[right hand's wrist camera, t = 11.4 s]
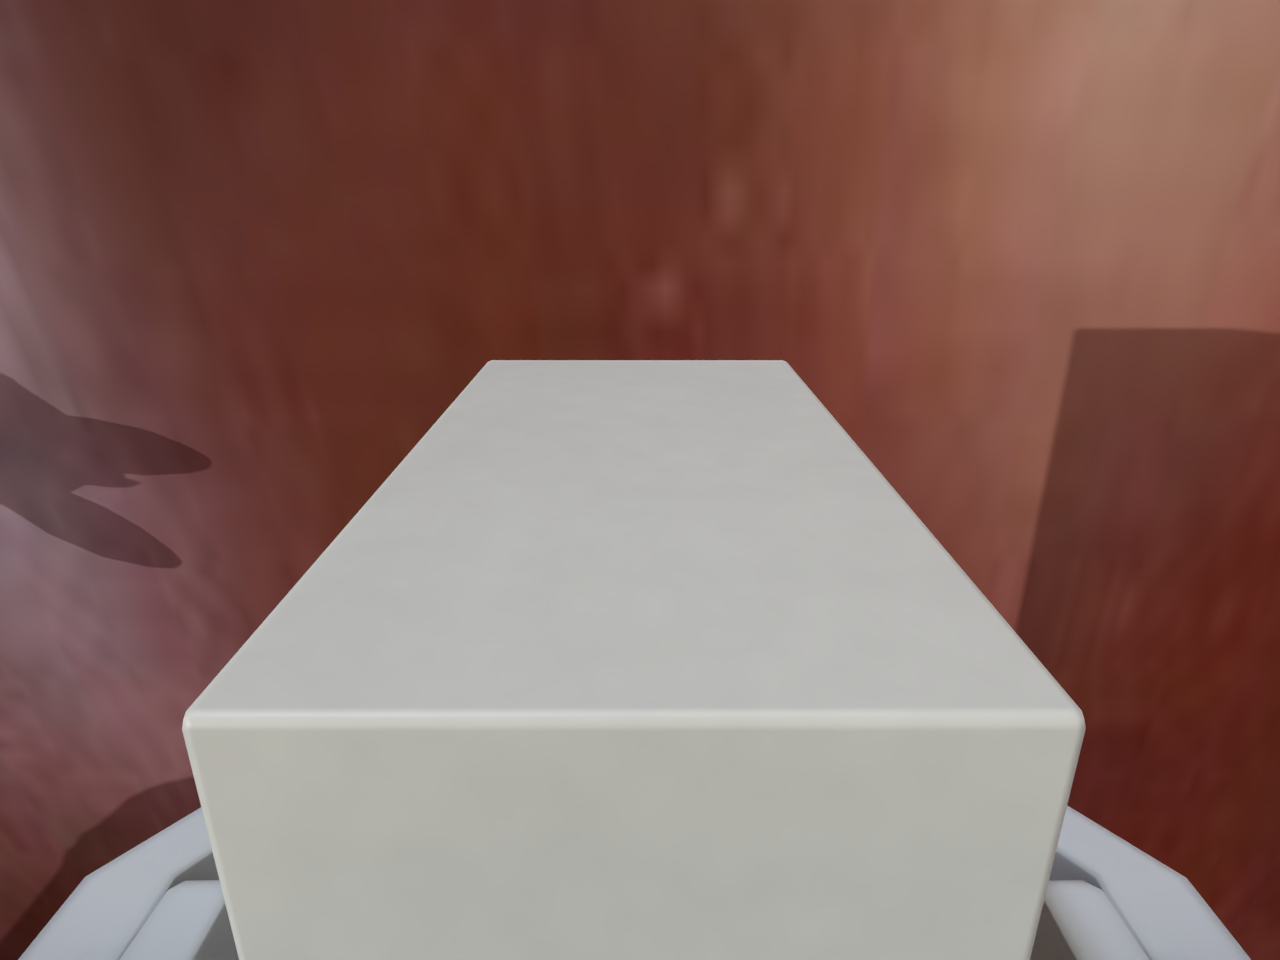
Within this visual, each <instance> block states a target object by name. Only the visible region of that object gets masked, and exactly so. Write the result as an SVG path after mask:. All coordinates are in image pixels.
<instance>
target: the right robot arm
mask: <svg viewBox="0 0 1280 960" xmlns="http://www.w3.org/2000/svg"><path fill="white" fill-rule="evenodd" d="M18 960H239V957H238V953H237V949H236V945H235V941H234V937H233V933H232V929H231V925H230V921H229V917H228V913H227V908H226V904H225V900H224V896H223V892H222V888H221V884H220V880H219V876H218V872H217V868H216V864H215V860H214V856H213V852H212V848H211V844H210V840H209V836H208V832H207V828H206V824H205V820H204V816H203V812H202V807H201V808H199V809H197V810H196V811H194V812H192V813H191V814H189V815H187V816H186V817H184V818H182V819H181V820H179V821H177V822H176V823H174V824H172V825H171V826H169V827H167V828H166V829H164V830H162V831H161V832H159V833H157V834H156V835H154V836H152V837H151V838H149V839H147V840H146V841H144V842H142V843H141V844H139V845H137V846H136V847H134V848H132V849H131V850H129V851H127V852H126V853H124V854H122V855H121V856H119V857H117V858H116V859H114V860H112V861H111V862H109V863H107V864H106V865H104V866H102V867H101V868H99V869H97V870H96V871H94V872H92V873H91V874H89V875H87V876H86V877H85V878H84V879H83V880H82V881H81V883H80V884H79V885H78V886H77V887H76V889H75V890H74V891H73V892H72V894H71V895H70V896H69V897H68V899H67V900H66V901H65V902H64V904H63V905H62V906H61V907H60V908H59V910H58V911H57V912H56V913H55V915H54V916H53V917H52V918H51V920H50V921H49V922H48V923H47V925H46V926H45V927H44V928H43V929H42V931H41V932H40V933H39V934H38V936H37V937H36V938H35V939H34V941H33V942H32V943H31V944H30V946H29V947H28V948H27V949H26V950H25V952H24V953H23V954H22V955H21V957H20V958H19V959H18ZM1030 960H1251V959H1250V958H1249V956H1248V955H1247V954H1246V953H1245V951H1244V950H1243V949H1242V947H1241V946H1240V945H1239V944H1238V942H1237V941H1236V940H1235V939H1234V937H1233V936H1232V935H1231V934H1230V932H1229V931H1228V930H1227V928H1226V927H1225V926H1224V925H1223V923H1222V922H1221V921H1220V920H1219V918H1218V917H1217V916H1216V915H1215V913H1214V912H1213V911H1212V909H1211V908H1210V907H1209V906H1208V904H1207V903H1206V902H1205V901H1204V899H1203V898H1202V897H1201V896H1200V894H1199V893H1198V892H1197V890H1196V889H1195V888H1194V887H1193V885H1192V884H1191V883H1190V882H1189V880H1188V879H1187V878H1186V877H1184V876H1182V875H1181V874H1179V873H1178V872H1176V871H1174V870H1173V869H1171V868H1169V867H1168V866H1166V865H1164V864H1163V863H1161V862H1159V861H1158V860H1156V859H1154V858H1153V857H1151V856H1150V855H1148V854H1146V853H1145V852H1143V851H1141V850H1140V849H1138V848H1136V847H1135V846H1133V845H1131V844H1130V843H1128V842H1127V841H1125V840H1123V839H1122V838H1120V837H1118V836H1117V835H1115V834H1113V833H1112V832H1110V831H1108V830H1107V829H1105V828H1103V827H1102V826H1100V825H1099V824H1097V823H1095V822H1094V821H1092V820H1090V819H1089V818H1087V817H1085V816H1084V815H1082V814H1080V813H1079V812H1077V811H1076V810H1074V809H1072V808H1071V807H1069V806H1067V808H1066V812H1065V816H1064V820H1063V825H1062V829H1061V833H1060V837H1059V841H1058V845H1057V849H1056V854H1055V858H1054V862H1053V866H1052V870H1051V874H1050V878H1049V883H1048V887H1047V891H1046V895H1045V899H1044V903H1043V907H1042V911H1041V916H1040V920H1039V924H1038V928H1037V932H1036V936H1035V940H1034V945H1033V949H1032V953H1031V957H1030Z"/></svg>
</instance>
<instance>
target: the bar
mask: <svg viewBox="0 0 1280 960" xmlns="http://www.w3.org/2000/svg"><path fill="white" fill-rule="evenodd" d="M1085 729H1086V727H1085V720H1084V716H1083V713H1082V710H1081V709H1080V708H1079V707H1078V706H1077V705H1076V703H1075V702H1074V701H1073V700H1072V699H1071V697H1070V696H1069V695H1068V694H1067V693H1066V692H1065V690H1064V689H1063V688H1062V687H1061V686H1060V684H1059V683H1058V682H1057V681H1056V680H1055V679H1054V677H1053V676H1052V675H1051V674H1050V673H1049V671H1048V670H1047V669H1046V668H1045V667H1044V666H1043V664H1042V663H1041V662H1040V661H1039V660H1038V658H1037V657H1036V656H1035V655H1034V654H1033V653H1032V651H1031V650H1030V649H1029V648H1028V647H1027V645H1026V644H1025V643H1024V642H1023V641H1022V640H1021V638H1020V637H1019V636H1018V635H1017V634H1016V632H1015V631H1014V630H1013V629H1012V628H1011V627H1010V625H1009V624H1008V623H1007V622H1006V621H1005V619H1004V618H1003V617H1002V616H1001V615H1000V614H999V612H998V611H997V610H996V609H995V608H994V606H993V605H992V604H991V603H990V602H989V600H988V599H987V598H986V597H985V596H984V595H983V593H982V592H981V591H980V590H979V589H978V587H977V586H976V585H975V584H974V583H973V582H972V580H971V579H970V578H969V577H968V576H967V574H966V573H965V572H964V571H963V570H962V569H961V567H960V566H959V565H958V564H957V563H956V561H955V560H954V559H953V558H952V557H951V556H950V554H949V553H948V552H947V551H946V550H945V548H944V547H943V546H942V545H941V544H940V543H939V541H938V540H937V539H936V538H935V537H934V535H933V534H932V533H931V532H930V531H929V530H928V528H927V527H926V526H925V525H924V524H923V522H922V521H921V520H920V519H919V518H918V517H917V515H916V514H915V513H914V512H913V511H912V509H911V508H910V507H909V506H908V505H907V504H906V502H905V501H904V500H903V499H902V498H901V496H900V495H899V494H898V493H897V492H896V491H895V489H894V488H893V487H892V486H891V485H890V483H889V482H888V481H887V480H886V479H885V478H884V476H883V475H882V474H881V473H880V472H879V470H878V469H877V468H876V467H875V466H874V465H873V463H872V462H871V461H870V460H869V459H868V457H867V456H866V455H865V454H864V453H863V452H862V450H861V449H860V448H859V447H858V446H857V444H856V443H855V442H854V441H853V440H852V439H851V437H850V436H849V435H848V434H847V433H846V431H845V430H844V429H843V428H842V427H841V426H840V424H839V423H838V422H837V421H836V420H835V418H834V417H833V416H832V415H831V414H830V413H829V411H828V410H827V409H826V408H825V407H824V405H823V404H822V403H821V402H820V401H819V400H818V398H817V397H816V396H815V395H814V394H813V392H812V391H811V390H810V389H809V388H808V387H807V385H806V384H805V383H804V382H803V381H802V379H801V378H800V377H799V376H798V375H797V374H796V372H795V371H794V370H793V369H792V368H791V366H790V365H789V364H788V363H787V362H786V361H783V360H491V361H489V362H487V364H486V365H485V366H484V367H483V368H482V369H481V371H480V372H479V373H478V374H477V375H476V376H475V377H474V379H473V380H472V381H471V382H470V383H469V384H468V386H467V387H466V388H465V389H464V390H463V391H462V392H461V394H460V395H459V396H458V397H457V398H456V399H455V401H454V402H453V403H452V404H451V405H450V406H449V408H448V409H447V410H446V411H445V412H444V413H443V414H442V416H441V417H440V418H439V419H438V420H437V421H436V423H435V424H434V425H433V426H432V427H431V428H430V430H429V431H428V432H427V433H426V434H425V435H424V436H423V438H422V439H421V440H420V441H419V442H418V443H417V445H416V446H415V447H414V448H413V449H412V450H411V452H410V453H409V454H408V455H407V456H406V457H405V458H404V460H403V461H402V462H401V463H400V464H399V465H398V467H397V468H396V469H395V470H394V471H393V472H392V474H391V475H390V476H389V477H388V478H387V479H386V480H385V482H384V483H383V484H382V485H381V486H380V487H379V489H378V490H377V491H376V492H375V493H374V494H373V496H372V497H371V498H370V499H369V500H368V501H367V502H366V504H365V505H364V506H363V507H362V508H361V509H360V511H359V512H358V513H357V514H356V515H355V516H354V518H353V519H352V520H351V521H350V522H349V523H348V524H347V526H346V527H345V528H344V529H343V530H342V531H341V533H340V534H339V535H338V536H337V537H336V538H335V540H334V541H333V542H332V543H331V544H330V545H329V546H328V548H327V549H326V550H325V551H324V552H323V553H322V555H321V556H320V557H319V558H318V559H317V560H316V562H315V563H314V564H313V565H312V566H311V567H310V568H309V570H308V571H307V572H306V573H305V574H304V575H303V577H302V578H301V579H300V580H299V581H298V582H297V583H296V585H295V586H294V587H293V588H292V589H291V590H290V592H289V593H288V594H287V595H286V596H285V597H284V599H283V600H282V601H281V602H280V603H279V604H278V605H277V607H276V608H275V609H274V610H273V611H272V612H271V614H270V615H269V616H268V617H267V618H266V619H265V621H264V622H263V623H262V624H261V625H260V626H259V627H258V629H257V630H256V631H255V632H254V633H253V634H252V636H251V637H250V638H249V639H248V640H247V641H246V643H245V644H244V645H243V646H242V647H241V648H240V649H239V651H238V652H237V653H236V654H235V655H234V656H233V658H232V659H231V660H230V661H229V662H228V663H227V665H226V666H225V667H224V668H223V669H222V670H221V671H220V673H219V674H218V675H217V676H216V677H215V678H214V680H213V681H212V682H211V683H210V684H209V685H208V687H207V688H206V689H205V690H204V691H203V692H202V693H201V695H200V696H199V697H198V698H197V699H196V700H195V702H194V703H193V704H192V705H191V706H190V707H189V709H188V710H187V711H186V713H185V716H184V720H183V726H182V731H183V735H184V739H185V743H186V747H187V751H188V755H189V759H190V763H191V767H192V771H193V775H194V779H195V783H196V787H197V791H198V795H199V799H200V803H201V807H202V812H203V816H204V820H205V824H206V828H207V832H208V836H209V840H210V844H211V848H212V852H213V856H214V860H215V864H216V868H217V872H218V876H219V880H220V884H221V888H222V892H223V896H224V900H225V904H226V908H227V913H228V917H229V921H230V925H231V929H232V933H233V937H234V941H235V945H236V949H237V953H238V957H239V960H1030V957H1031V953H1032V949H1033V945H1034V940H1035V936H1036V932H1037V928H1038V924H1039V920H1040V916H1041V911H1042V907H1043V903H1044V899H1045V895H1046V891H1047V887H1048V883H1049V878H1050V874H1051V870H1052V866H1053V862H1054V858H1055V854H1056V849H1057V845H1058V841H1059V837H1060V833H1061V829H1062V825H1063V820H1064V816H1065V812H1066V808H1067V804H1068V800H1069V796H1070V791H1071V787H1072V783H1073V779H1074V775H1075V771H1076V767H1077V763H1078V758H1079V754H1080V750H1081V746H1082V742H1083V738H1084V734H1085Z"/></svg>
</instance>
